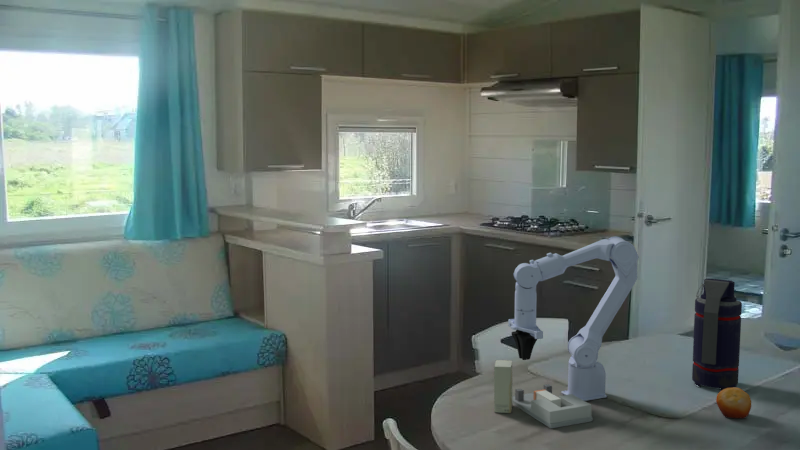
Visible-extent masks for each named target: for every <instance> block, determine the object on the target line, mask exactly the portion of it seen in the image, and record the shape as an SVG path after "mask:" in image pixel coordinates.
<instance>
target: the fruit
mask: <svg viewBox="0 0 800 450" xmlns="http://www.w3.org/2000/svg"><path fill="white" fill-rule="evenodd" d="M715 401H716V406H717V407H718V409H719V411H720V412H721V414H722V416H724V417H725V418H727V419H728V418H729V419H746V418H747V417H748V416H749V413H750V411H751V410H752V400H751V396H750V395H749V394H748V393H747V392H745V391H744V390H743V389H742V388H740V387H737V386H735V387H732V388H726V389H723V390H722V391H721V390H720V391H719V392H718V393H717V395H716V399H715Z"/></svg>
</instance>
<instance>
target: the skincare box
mask: <svg viewBox="0 0 800 450" xmlns="http://www.w3.org/2000/svg"><path fill="white" fill-rule="evenodd" d="M493 380H494V381H493V391H494V392H493V395H494V396H493V400H494V401H493V404H494V406H493V410H494V411H493V412H494V413H497V414H499V413H500V414H511V413H512V410H513V404H512V396H513V360H510V359H509V360H504V359H496V360H495V362H494V366H493Z"/></svg>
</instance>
